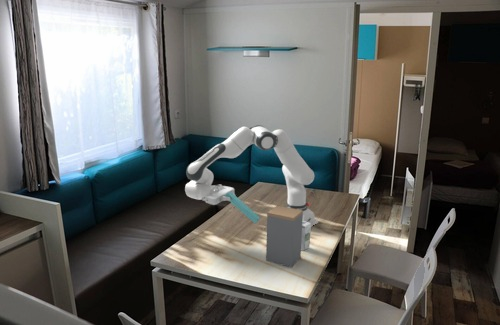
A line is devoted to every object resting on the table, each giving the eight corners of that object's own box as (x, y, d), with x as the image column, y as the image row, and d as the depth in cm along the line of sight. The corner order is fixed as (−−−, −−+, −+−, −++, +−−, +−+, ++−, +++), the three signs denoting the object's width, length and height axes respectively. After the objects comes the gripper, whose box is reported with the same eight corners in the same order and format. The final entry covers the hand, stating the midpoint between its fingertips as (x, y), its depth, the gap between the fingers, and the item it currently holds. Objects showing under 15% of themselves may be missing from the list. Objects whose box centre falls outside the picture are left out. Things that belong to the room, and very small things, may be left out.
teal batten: (225, 197, 226) (227, 193, 225) (228, 195, 229) (230, 191, 228) (254, 223, 221) (257, 219, 219) (257, 221, 223) (260, 217, 222)
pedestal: (266, 260, 217) (267, 212, 210) (276, 251, 227) (277, 205, 221) (291, 267, 210) (293, 218, 204) (300, 257, 221) (302, 210, 214)
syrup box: (300, 244, 236) (301, 220, 232) (309, 247, 232) (311, 222, 228) (294, 248, 231) (296, 223, 228) (304, 251, 228) (305, 226, 224)
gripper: (199, 193, 223) (222, 197, 216) (221, 183, 240) (242, 187, 234) (200, 205, 224) (222, 209, 218) (221, 194, 242) (242, 198, 235)
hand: (232, 197), depth 226 cm, fingers closed on teal batten, 3 cm apart
